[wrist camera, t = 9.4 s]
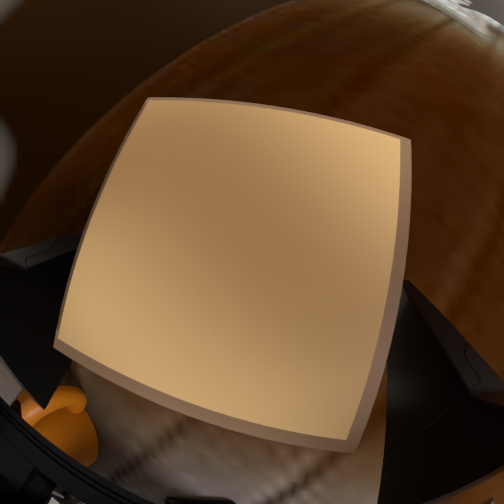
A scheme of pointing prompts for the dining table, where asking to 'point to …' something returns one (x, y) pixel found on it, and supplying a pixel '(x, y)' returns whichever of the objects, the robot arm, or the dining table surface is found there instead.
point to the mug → (64, 423)
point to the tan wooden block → (245, 268)
